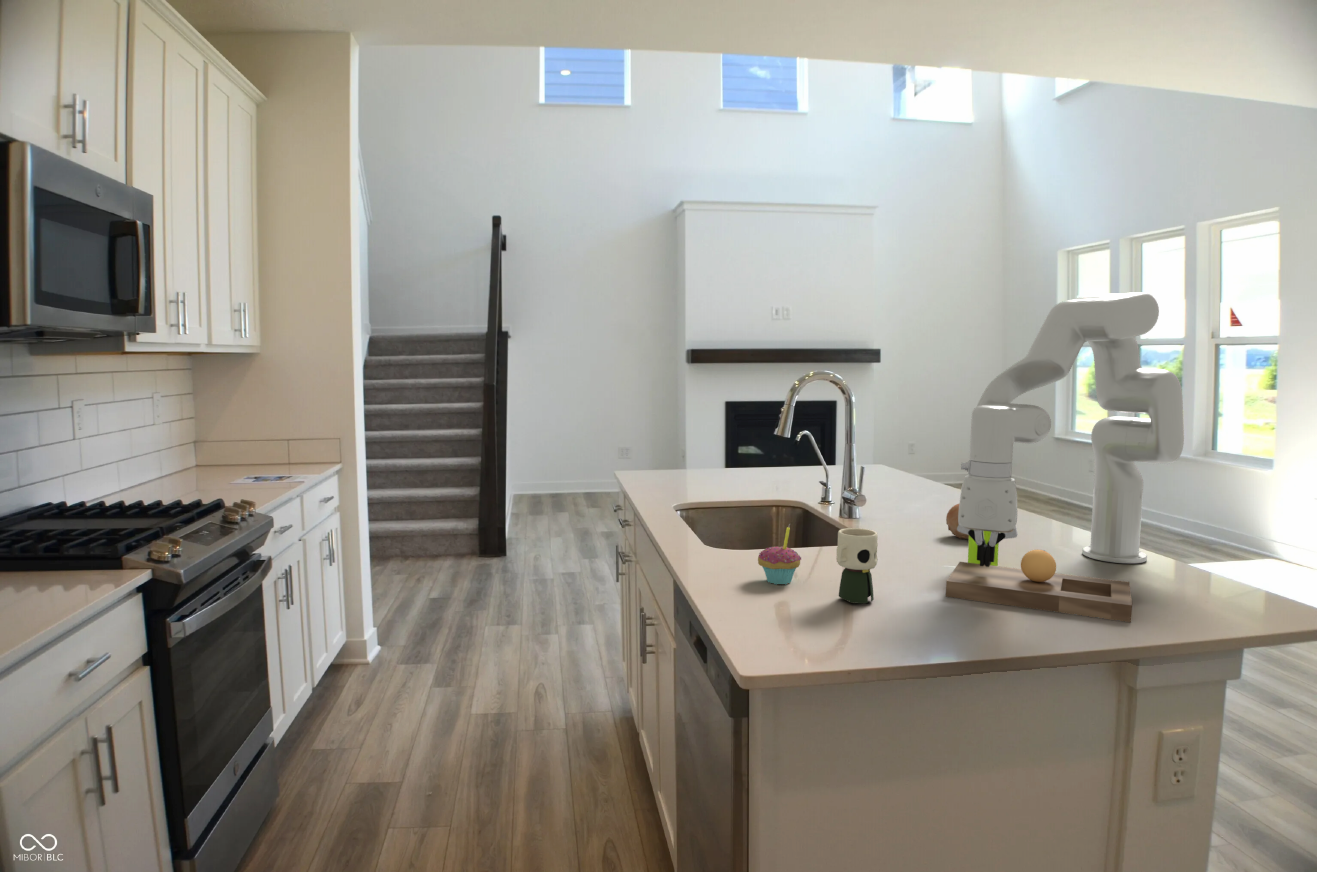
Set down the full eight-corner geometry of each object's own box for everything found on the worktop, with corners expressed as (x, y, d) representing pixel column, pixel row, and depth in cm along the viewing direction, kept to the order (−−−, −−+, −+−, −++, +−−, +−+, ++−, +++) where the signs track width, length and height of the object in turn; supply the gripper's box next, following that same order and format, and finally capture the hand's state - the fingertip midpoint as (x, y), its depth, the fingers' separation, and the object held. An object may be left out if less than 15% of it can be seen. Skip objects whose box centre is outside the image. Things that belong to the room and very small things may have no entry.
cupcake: (805, 578, 160) (806, 520, 159) (793, 589, 153) (794, 529, 152) (764, 573, 164) (765, 517, 163) (751, 584, 156) (752, 525, 155)
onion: (980, 552, 194) (998, 519, 190) (943, 541, 194) (961, 509, 189) (971, 530, 203) (988, 499, 198) (936, 520, 202) (952, 488, 198)
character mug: (852, 611, 140) (853, 539, 138) (821, 601, 145) (822, 532, 144) (890, 600, 146) (892, 531, 145) (859, 591, 152) (861, 524, 151)
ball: (1021, 575, 152) (1022, 544, 151) (1056, 579, 149) (1057, 548, 148) (1018, 583, 147) (1020, 551, 146) (1054, 587, 144) (1056, 555, 143)
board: (959, 575, 162) (959, 561, 162) (1128, 597, 148) (1129, 581, 148) (945, 596, 149) (946, 580, 148) (1131, 622, 134) (1132, 605, 134)
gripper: (945, 469, 151) (941, 563, 152) (1031, 476, 143) (1026, 574, 145) (952, 465, 157) (947, 555, 159) (1034, 471, 150) (1029, 565, 152)
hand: (985, 564), depth 152 cm, fingers closed
